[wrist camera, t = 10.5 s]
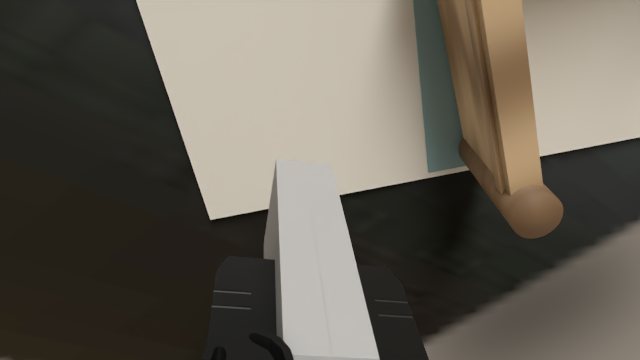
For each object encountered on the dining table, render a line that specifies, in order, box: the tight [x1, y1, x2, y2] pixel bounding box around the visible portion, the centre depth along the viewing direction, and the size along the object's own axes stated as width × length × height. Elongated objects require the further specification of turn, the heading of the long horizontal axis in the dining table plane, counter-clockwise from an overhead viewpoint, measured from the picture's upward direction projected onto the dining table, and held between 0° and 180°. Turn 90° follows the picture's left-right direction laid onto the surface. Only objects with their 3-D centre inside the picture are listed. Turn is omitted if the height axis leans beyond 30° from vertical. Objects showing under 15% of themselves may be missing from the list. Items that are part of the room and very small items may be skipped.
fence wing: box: [437, 0, 563, 238], centre depth 22 cm, size 15×2×7 cm, turn 18°
